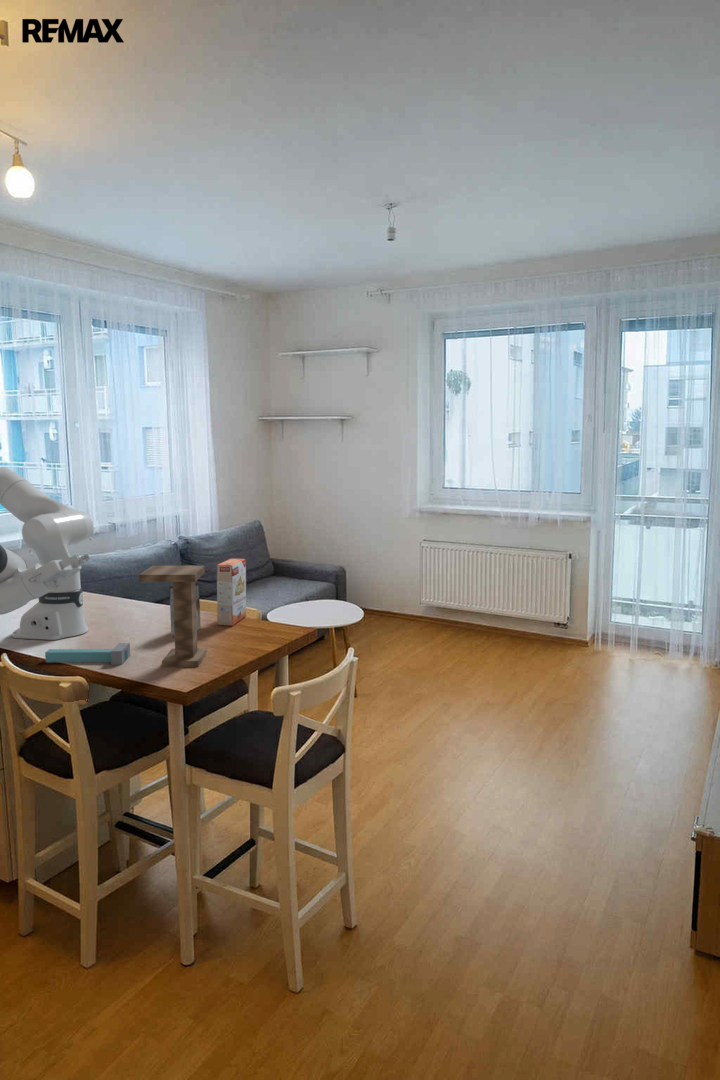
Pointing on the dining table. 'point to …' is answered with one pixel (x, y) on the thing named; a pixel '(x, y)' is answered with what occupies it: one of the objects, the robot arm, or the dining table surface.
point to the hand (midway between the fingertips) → (83, 556)
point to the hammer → (90, 655)
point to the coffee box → (173, 608)
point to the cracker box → (231, 591)
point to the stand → (181, 612)
